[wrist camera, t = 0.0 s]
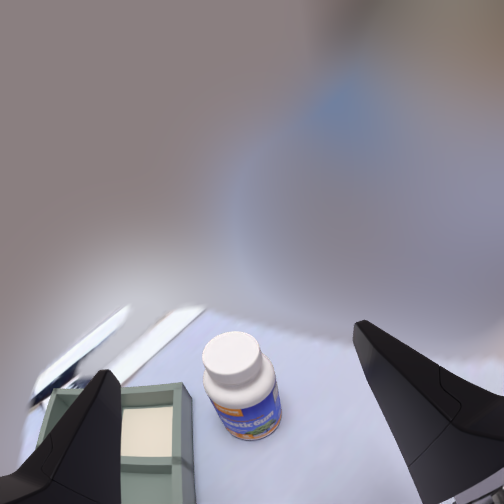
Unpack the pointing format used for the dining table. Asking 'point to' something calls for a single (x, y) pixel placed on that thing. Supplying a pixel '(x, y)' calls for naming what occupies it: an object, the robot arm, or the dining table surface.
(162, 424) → the divided tray
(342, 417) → the dining table surface
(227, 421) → the pill bottle
